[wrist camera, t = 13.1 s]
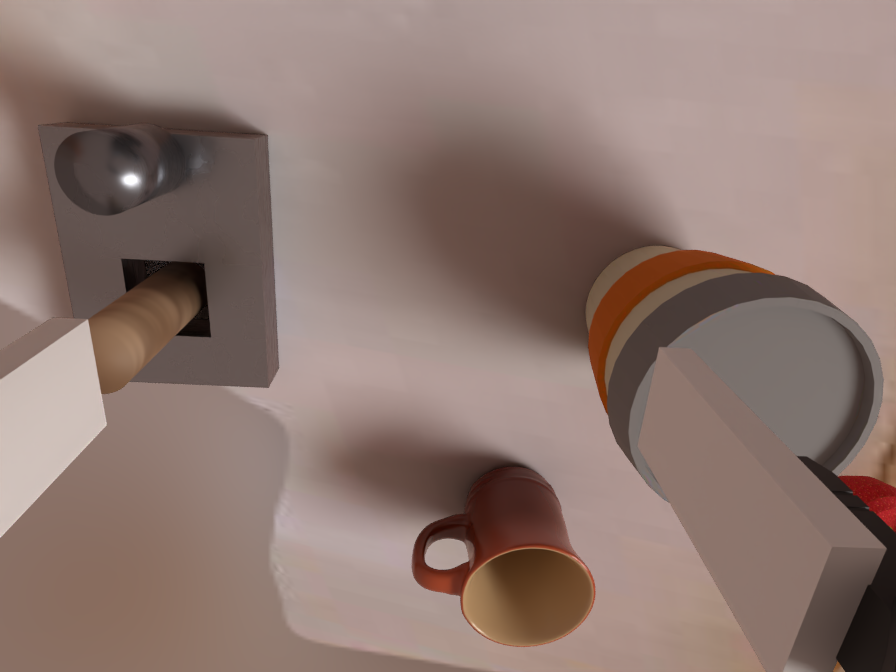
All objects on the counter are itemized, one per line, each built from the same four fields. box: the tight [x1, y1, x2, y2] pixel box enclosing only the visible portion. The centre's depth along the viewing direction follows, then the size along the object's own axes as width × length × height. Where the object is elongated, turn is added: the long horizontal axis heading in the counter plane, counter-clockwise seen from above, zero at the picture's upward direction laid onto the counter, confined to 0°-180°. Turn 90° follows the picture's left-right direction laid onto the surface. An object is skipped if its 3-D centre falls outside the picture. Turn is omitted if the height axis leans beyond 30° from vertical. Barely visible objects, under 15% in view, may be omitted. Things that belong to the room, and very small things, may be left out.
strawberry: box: [839, 476, 896, 533], centre depth 44 cm, size 6×8×10 cm
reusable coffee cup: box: [585, 246, 884, 503], centre depth 35 cm, size 13×13×15 cm
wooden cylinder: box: [88, 261, 208, 394], centre depth 35 cm, size 4×4×12 cm
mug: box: [412, 467, 595, 647], centre depth 44 cm, size 12×9×10 cm
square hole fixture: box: [38, 122, 279, 388], centre depth 36 cm, size 16×12×9 cm
